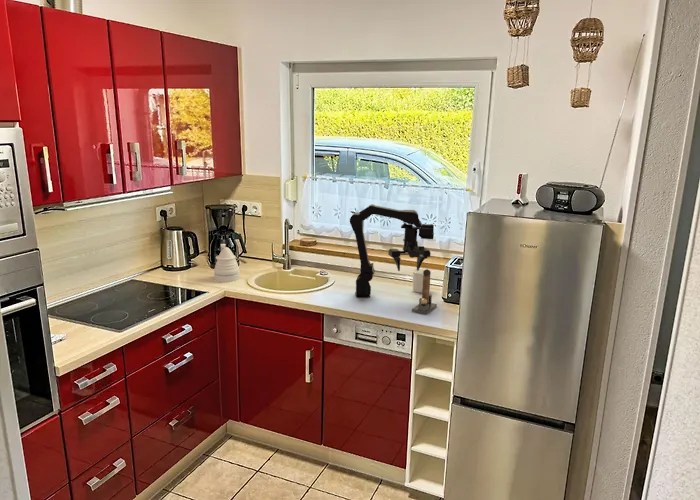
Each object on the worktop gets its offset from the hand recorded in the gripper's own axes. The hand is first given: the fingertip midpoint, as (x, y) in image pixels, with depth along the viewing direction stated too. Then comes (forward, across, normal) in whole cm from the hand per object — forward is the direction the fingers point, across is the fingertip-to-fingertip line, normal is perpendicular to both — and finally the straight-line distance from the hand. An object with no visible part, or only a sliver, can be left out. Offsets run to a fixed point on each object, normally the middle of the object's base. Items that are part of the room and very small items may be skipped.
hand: (408, 270), depth 243 cm
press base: (+13, +3, -16) cm, 21 cm away
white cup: (+13, +10, +9) cm, 19 cm away
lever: (+10, +4, -14) cm, 18 cm away
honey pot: (+16, -81, +47) cm, 95 cm away
